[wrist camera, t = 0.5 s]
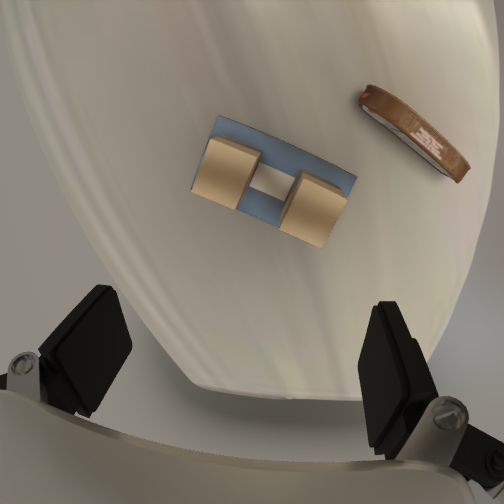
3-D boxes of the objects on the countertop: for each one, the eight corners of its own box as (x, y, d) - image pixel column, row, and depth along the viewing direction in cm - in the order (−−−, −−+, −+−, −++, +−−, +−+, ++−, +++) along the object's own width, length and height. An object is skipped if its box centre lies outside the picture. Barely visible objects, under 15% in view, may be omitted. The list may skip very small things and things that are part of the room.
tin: (450, 159, 31) (484, 172, 23) (438, 177, 32) (470, 195, 25) (360, 85, 29) (380, 77, 21) (347, 106, 30) (364, 102, 23)
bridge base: (219, 115, 33) (203, 115, 27) (356, 176, 34) (369, 189, 28) (191, 188, 37) (173, 203, 31) (320, 244, 38) (324, 268, 32)
